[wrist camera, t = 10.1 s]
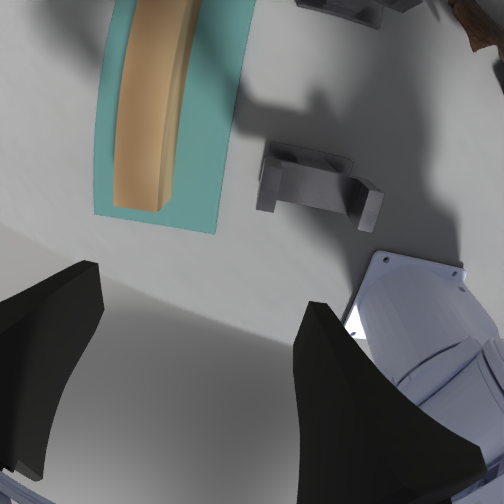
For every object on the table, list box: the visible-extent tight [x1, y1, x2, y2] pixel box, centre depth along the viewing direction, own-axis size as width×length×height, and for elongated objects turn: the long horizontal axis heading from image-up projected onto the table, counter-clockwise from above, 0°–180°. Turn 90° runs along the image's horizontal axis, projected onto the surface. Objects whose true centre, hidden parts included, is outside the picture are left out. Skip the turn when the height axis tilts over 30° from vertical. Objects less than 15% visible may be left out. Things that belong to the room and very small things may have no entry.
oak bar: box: [113, 0, 202, 213], centre depth 13 cm, size 3×18×3 cm, turn 170°
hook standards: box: [256, 0, 423, 233], centre depth 12 cm, size 6×15×6 cm, turn 170°
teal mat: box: [94, 0, 256, 234], centre depth 14 cm, size 9×22×1 cm, turn 170°
